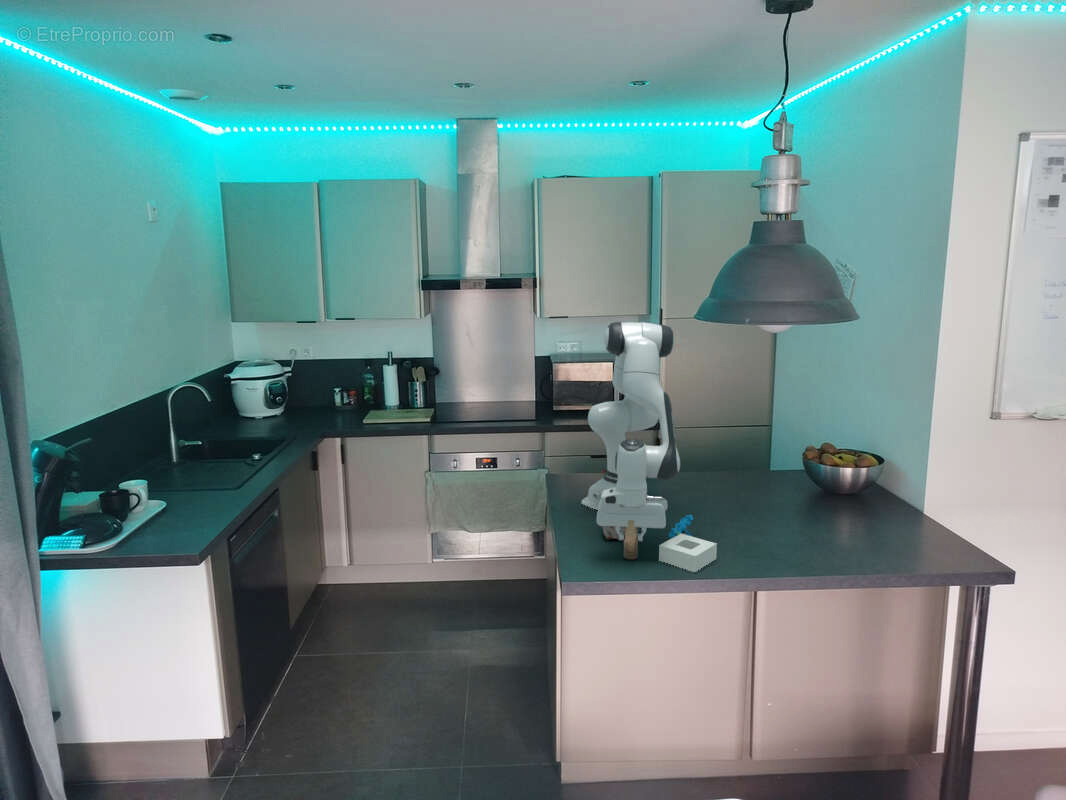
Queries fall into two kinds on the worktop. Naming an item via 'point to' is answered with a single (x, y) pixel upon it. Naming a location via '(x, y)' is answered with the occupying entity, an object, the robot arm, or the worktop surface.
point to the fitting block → (687, 552)
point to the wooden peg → (630, 540)
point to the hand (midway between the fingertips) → (630, 540)
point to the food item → (611, 532)
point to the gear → (681, 527)
